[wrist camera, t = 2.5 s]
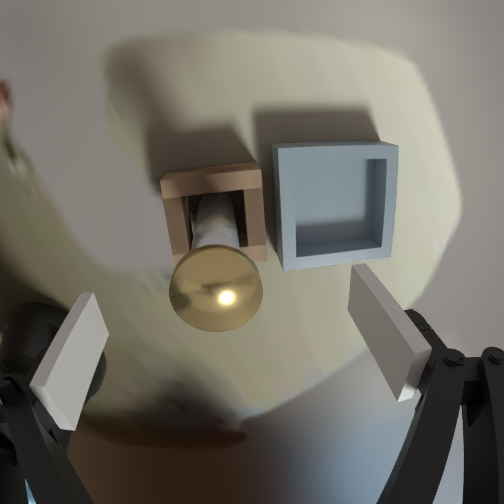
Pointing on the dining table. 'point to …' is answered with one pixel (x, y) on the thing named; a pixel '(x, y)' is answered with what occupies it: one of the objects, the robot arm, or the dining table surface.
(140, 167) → the dining table surface
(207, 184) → the block
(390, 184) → the tray
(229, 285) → the pin
